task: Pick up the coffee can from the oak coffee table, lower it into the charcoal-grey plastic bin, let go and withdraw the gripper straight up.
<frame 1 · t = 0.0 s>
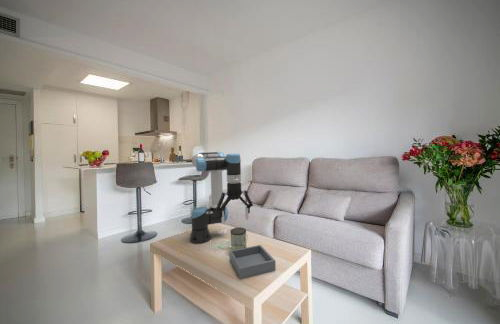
hand: (235, 221, 115), 28 cm above the table, fingers open, 13 cm apart
bin: (251, 264, 122), on the table
coffee can: (238, 251, 138), on the table
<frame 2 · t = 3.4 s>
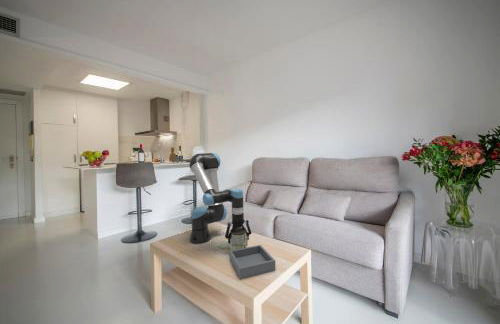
hand: (238, 246, 138), 3 cm above the table, fingers closed on coffee can, 10 cm apart
coffee can: (238, 251, 138), on the table, touching gripper
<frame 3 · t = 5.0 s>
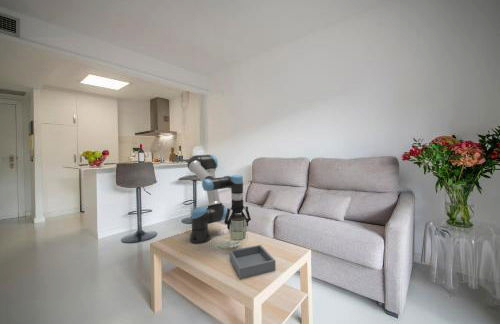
hand: (238, 232, 138), 12 cm above the table, fingers closed on coffee can, 10 cm apart
coffee can: (238, 237, 138), point 9 cm above the table, touching gripper
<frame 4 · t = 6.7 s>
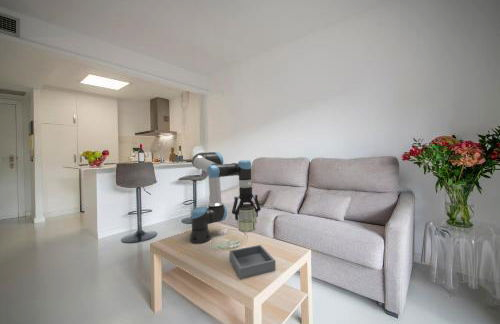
hand: (246, 223, 125), 23 cm above the table, fingers closed on coffee can, 10 cm apart
coffee can: (247, 229, 125), point 19 cm above the table, touching gripper
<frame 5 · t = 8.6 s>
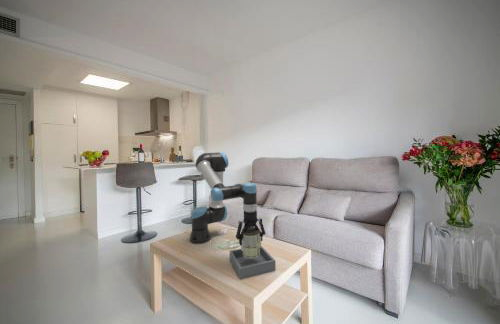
hand: (251, 248, 121), 10 cm above the table, fingers closed on coffee can, 10 cm apart
coffee can: (251, 254, 122), point 6 cm above the table, touching gripper
when the fingers open (5 cm above the table, at t = 10.1 s): coffee can stays where it is, resting on bin.
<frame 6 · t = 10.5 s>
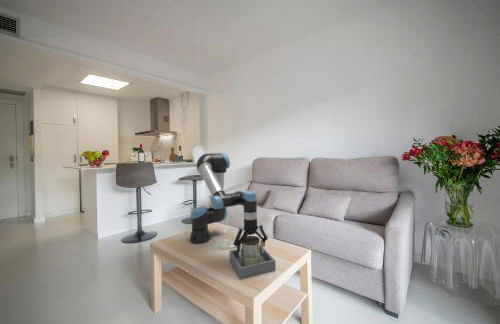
hand: (251, 254, 122), 6 cm above the table, fingers open, 13 cm apart
coffee can: (251, 263, 122), point 1 cm above the table, touching bin
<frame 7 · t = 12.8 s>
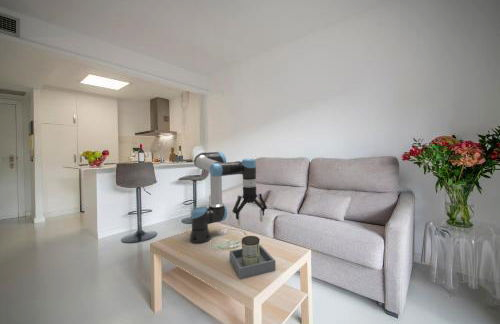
hand: (250, 223, 120), 25 cm above the table, fingers open, 13 cm apart
nothing on the table moved.
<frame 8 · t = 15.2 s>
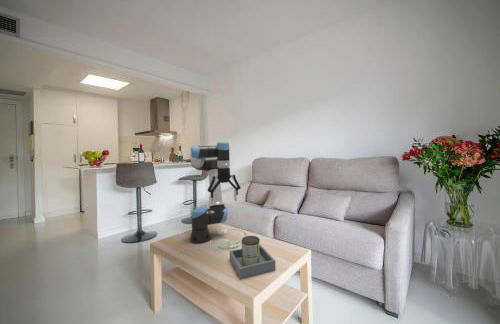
hand: (224, 201, 130), 35 cm above the table, fingers open, 13 cm apart
nothing on the table moved.
at the end: coffee can inside the target area on the bin (0.2 cm from its centre), point 0.8 cm above the bin's base; coffee can tilted 0°; the gripper is holding nothing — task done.
